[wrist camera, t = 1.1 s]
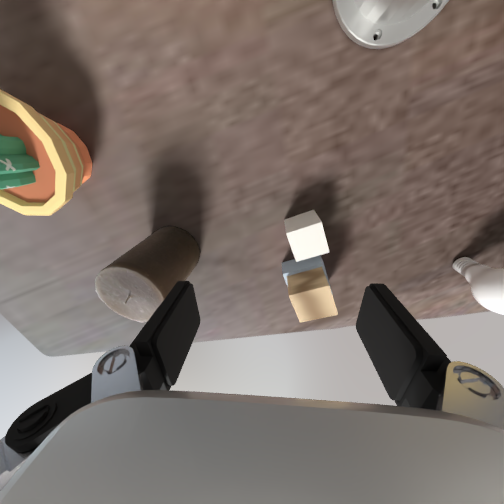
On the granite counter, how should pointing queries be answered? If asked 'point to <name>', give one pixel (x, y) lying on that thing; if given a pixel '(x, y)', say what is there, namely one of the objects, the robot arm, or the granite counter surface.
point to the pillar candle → (147, 273)
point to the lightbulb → (483, 283)
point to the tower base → (302, 266)
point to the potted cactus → (38, 160)
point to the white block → (306, 235)
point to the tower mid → (311, 295)
